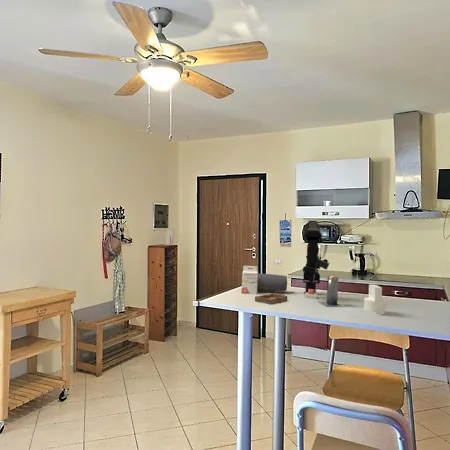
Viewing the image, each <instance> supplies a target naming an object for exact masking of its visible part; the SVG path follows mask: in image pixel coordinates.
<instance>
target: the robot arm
mask: <svg viewBox="0 0 450 450" xmlns="http://www.w3.org/2000/svg"><path fill="white" fill-rule="evenodd" d="M304 234H305V244H307V245H306V255H305V258H306V263H305V265H304V266H303V267H302V272H303V280H302V281H303V284H305V288H304V289H305V291H304V292H303V294H305V293H306V292H308V289H314V293H318V292H317V284H318V285H319V284H321V283H320V281H321V275H320V272H319V271H320V270H321V268H322V269H323V270H327V269H328V268H329V266H330V263H329V260H328V259H326V258H324V259H320V256H319V251H320V248H319V244H321V243H322V242H323V234H322V232H321V225H320V224H319V223H318V221H317V220H308V222H307V223H306V224H305V225H304Z"/></svg>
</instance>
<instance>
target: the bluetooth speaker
mask: <svg viewBox="0 0 450 450" xmlns="http://www.w3.org/2000/svg"><path fill="white" fill-rule="evenodd" d="M287 279H288V275H280V274H272V273H271V274H270V273H258V282H257V292H258V293H259V292H262V293H272V294H275V293H276V292H286V291H287V289H288V287H287V286H288V280H287Z"/></svg>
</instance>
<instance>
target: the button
mask: <svg viewBox="0 0 450 450" xmlns="http://www.w3.org/2000/svg"><path fill="white" fill-rule="evenodd" d="M308 294H314V289H308Z"/></svg>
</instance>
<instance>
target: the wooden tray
mask: <svg viewBox="0 0 450 450" xmlns="http://www.w3.org/2000/svg"><path fill="white" fill-rule="evenodd" d="M277 294H278V293H267V294H262V295H255V296H254V302H258V303H261V304H265V305H267V304H268V305H273V304H279V303H283V302H288V295H287V296H286V295H285V296H283V295H277Z"/></svg>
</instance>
